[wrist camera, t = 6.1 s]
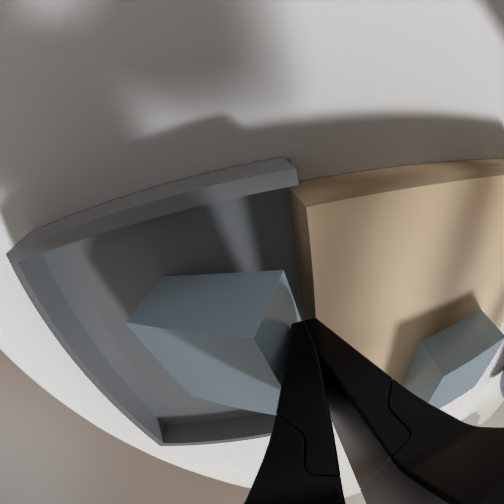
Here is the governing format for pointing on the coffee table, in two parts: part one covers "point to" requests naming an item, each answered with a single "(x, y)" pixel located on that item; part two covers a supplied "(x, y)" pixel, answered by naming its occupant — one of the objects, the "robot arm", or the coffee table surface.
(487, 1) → the coffee table surface
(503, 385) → the pencil case
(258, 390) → the tile near
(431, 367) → the tile far
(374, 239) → the oak board
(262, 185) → the tray
